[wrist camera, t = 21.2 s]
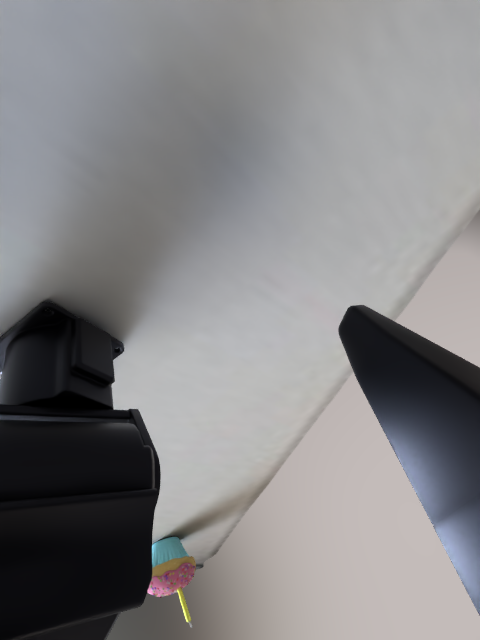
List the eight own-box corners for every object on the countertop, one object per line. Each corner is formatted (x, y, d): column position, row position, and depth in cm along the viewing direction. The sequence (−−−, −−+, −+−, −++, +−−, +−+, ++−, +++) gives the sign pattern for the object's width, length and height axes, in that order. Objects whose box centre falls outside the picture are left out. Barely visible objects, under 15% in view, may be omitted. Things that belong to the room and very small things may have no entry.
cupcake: (174, 528, 56) (191, 622, 48) (198, 534, 62) (217, 619, 54) (128, 552, 56) (137, 649, 48) (156, 556, 62) (168, 643, 54)
